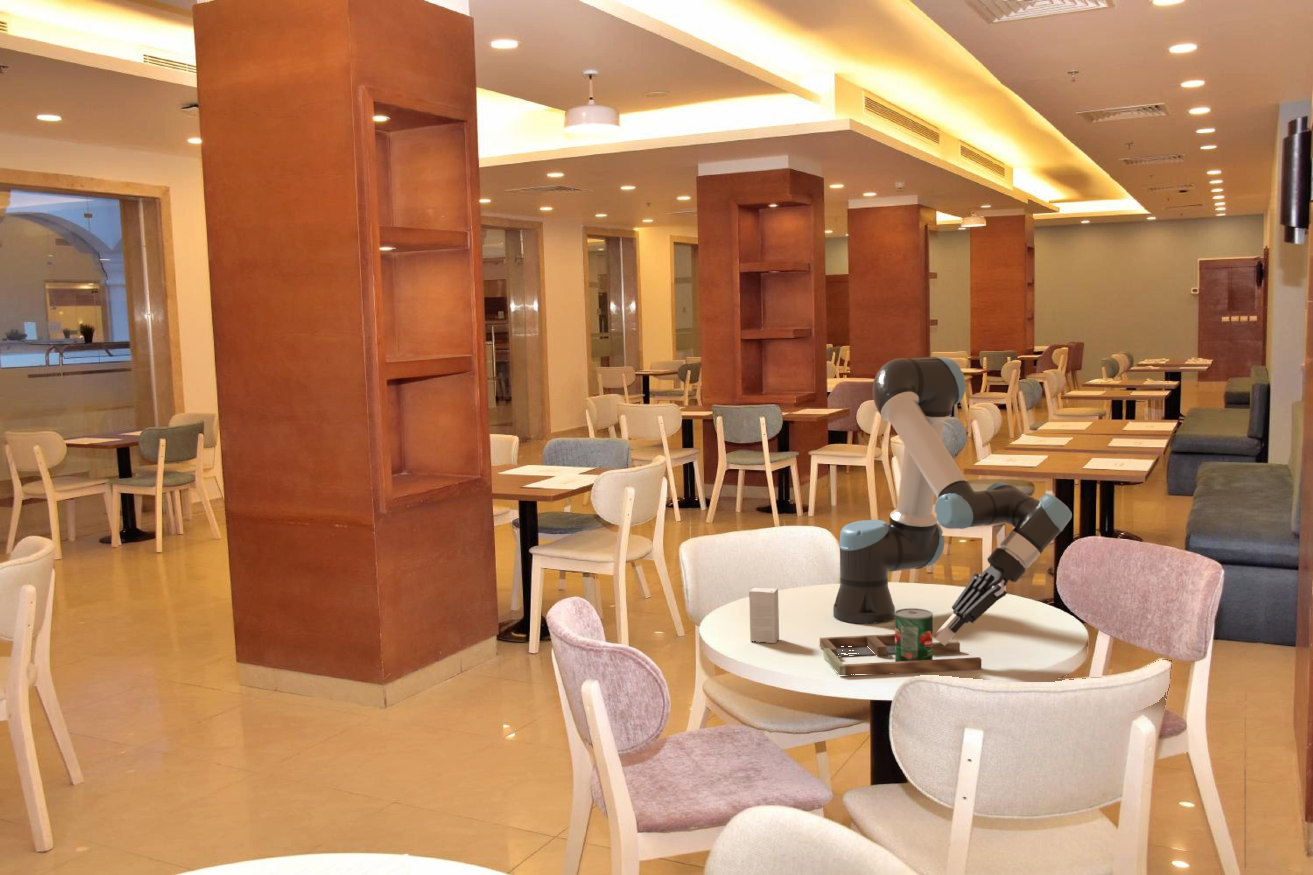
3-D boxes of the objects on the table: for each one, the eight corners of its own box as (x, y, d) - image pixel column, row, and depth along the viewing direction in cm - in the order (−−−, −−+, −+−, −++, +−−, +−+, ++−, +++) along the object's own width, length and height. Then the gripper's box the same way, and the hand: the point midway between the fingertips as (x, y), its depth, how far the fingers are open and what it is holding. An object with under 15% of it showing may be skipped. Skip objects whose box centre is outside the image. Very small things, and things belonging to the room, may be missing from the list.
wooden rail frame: (944, 640, 254) (944, 631, 254) (981, 669, 233) (981, 658, 233) (814, 647, 251) (814, 637, 251) (839, 676, 230) (839, 666, 230)
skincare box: (779, 639, 259) (778, 588, 258) (775, 643, 255) (774, 592, 254) (754, 637, 261) (753, 586, 260) (749, 642, 257) (748, 591, 256)
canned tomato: (936, 668, 234) (937, 617, 233) (899, 669, 234) (899, 617, 233) (927, 657, 242) (927, 607, 241) (891, 658, 242) (891, 608, 241)
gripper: (1038, 575, 231) (963, 660, 231) (1011, 562, 244) (940, 643, 244) (1013, 552, 230) (937, 638, 230) (987, 540, 243) (915, 621, 243)
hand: (939, 640), depth 237 cm, fingers closed
